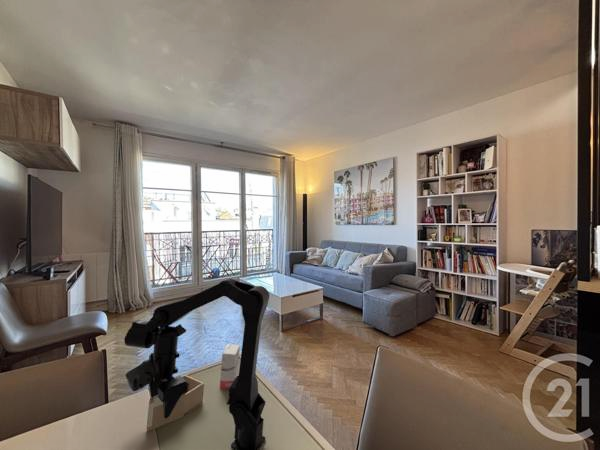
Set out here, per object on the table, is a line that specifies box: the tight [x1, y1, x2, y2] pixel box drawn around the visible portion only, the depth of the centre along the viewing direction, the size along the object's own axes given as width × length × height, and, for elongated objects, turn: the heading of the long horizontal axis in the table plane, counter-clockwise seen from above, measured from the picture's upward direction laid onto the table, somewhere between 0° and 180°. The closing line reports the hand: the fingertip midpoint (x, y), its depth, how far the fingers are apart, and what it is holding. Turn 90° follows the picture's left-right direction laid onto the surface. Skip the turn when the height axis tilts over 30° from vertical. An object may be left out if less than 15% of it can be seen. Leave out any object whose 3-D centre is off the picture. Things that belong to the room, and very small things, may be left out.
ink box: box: [219, 343, 241, 390], centre depth 91 cm, size 9×5×12 cm, turn 3°
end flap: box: [146, 394, 185, 432], centre depth 69 cm, size 9×2×8 cm, turn 132°
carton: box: [180, 374, 205, 416], centre depth 78 cm, size 9×7×6 cm
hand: (159, 408), depth 67 cm, fingers open, 9 cm apart
